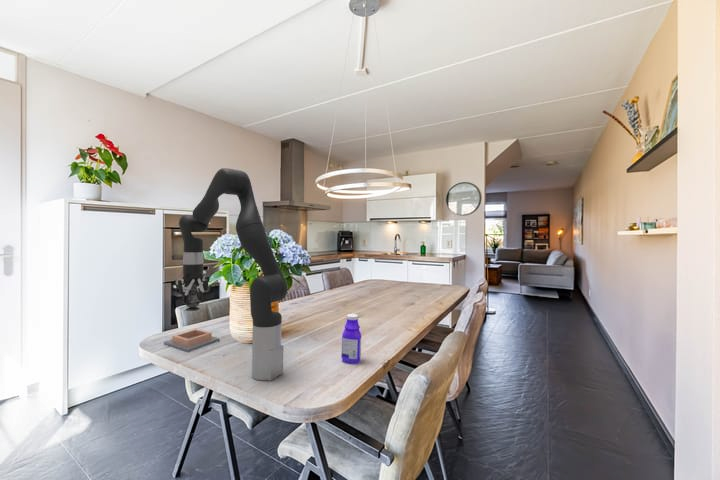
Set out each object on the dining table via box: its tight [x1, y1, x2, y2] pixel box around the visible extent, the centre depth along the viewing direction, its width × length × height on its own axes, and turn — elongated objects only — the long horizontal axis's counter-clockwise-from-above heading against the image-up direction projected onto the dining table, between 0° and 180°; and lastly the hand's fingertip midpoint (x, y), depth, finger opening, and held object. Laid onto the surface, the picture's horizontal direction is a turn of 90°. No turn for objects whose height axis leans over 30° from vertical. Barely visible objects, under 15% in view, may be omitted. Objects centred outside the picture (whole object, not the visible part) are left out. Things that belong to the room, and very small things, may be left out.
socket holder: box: [163, 328, 221, 353], centre depth 123 cm, size 16×14×4 cm
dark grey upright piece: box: [185, 285, 202, 312], centre depth 122 cm, size 6×6×12 cm
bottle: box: [340, 313, 362, 364], centre depth 109 cm, size 7×6×17 cm
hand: (192, 302), depth 122 cm, fingers closed on dark grey upright piece, 6 cm apart
